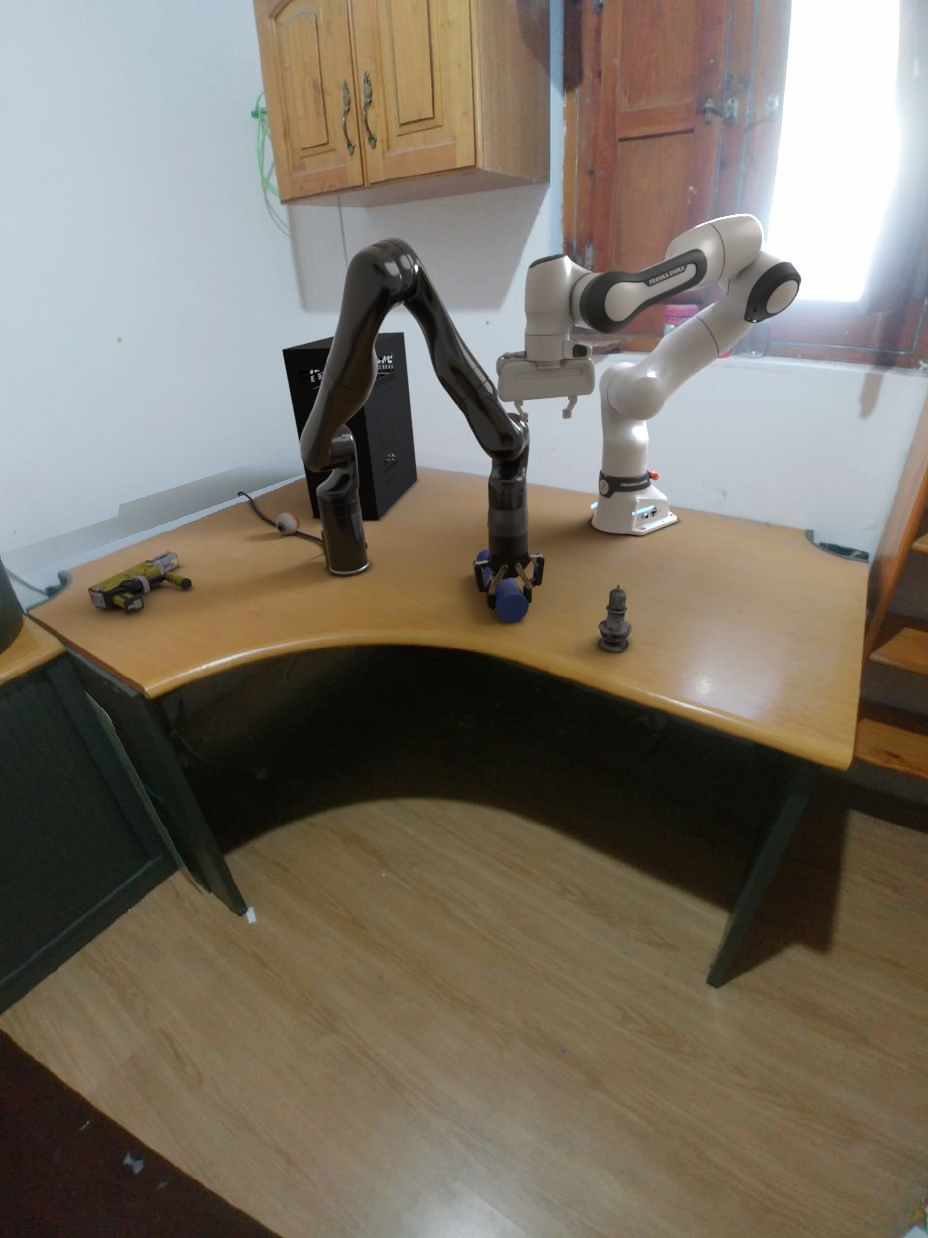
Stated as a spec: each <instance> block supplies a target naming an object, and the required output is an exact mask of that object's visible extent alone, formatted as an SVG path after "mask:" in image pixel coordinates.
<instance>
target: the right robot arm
mask: <svg viewBox="0 0 928 1238" xmlns="http://www.w3.org/2000/svg"><path fill="white" fill-rule="evenodd" d="M764 239H765V238H764V230H763V226H762V224H761V222H760V221H759V219H757V217H755V216H754V215H752V214H748V213H742V214H734V215H728V216H724V217H719V218H716V219H713V220H710V221H708V222H704V223H701V224H699V225H696V226H695V227H692V228H690V229H688V230H686V231H684V232H683V233H681V234H680V235H678V236H676V237H675V238H674V239H672V240H671V241H670V243H669V244H668V246H667V249H666V251H665V254H664V260H663V261H660V262H657V263H655V264H653V265H651V266H648V267H646V268H644V269H641V270H639V271H637V272H627V271H621V270H613V271H606V272H593V271H592V270H588V269H586V268H584V267H583V266H580V265H579V264H577V263H576V262H574V261H572V259H570V258H569V256H568V255H567V254H565V253H556V254H553V255H547V256H544V257H540V258H538V259H535V260H534V261H532V262H531V263H530V264H529V266H528V268H527V271H526V276H525V284H524V285H525V286H524V306H523V307H524V315H525V319H526V321H525V322H526V324H525V329H524V350H519V351H514V352H509V351H507V352H504V353H502V354H501V355H500V356H499V357H498V358H497V359H496V361H495V370H496V374H497V386H496V389H497V397H498V400H499V401H502V402H503V403H509V402H510V403H512V402H513V406H514V407H515V409H516V411H517V412H518V415H520V416H521V417H522V418H523V419H524V420H525V421H526V423H529V413H527V412H526V411H525V412H524V410H523V409H522V407H523V406H524V401H532V400H534V401H535V400H545V399H556V398H566V397H567V400H568V401H569V402H568V404H567V406H566V408H562V410H561V411H562V414H561V415H562V418H563V419H564V420H568V419H572V416H573V415H572V412H573V409H574V408H575V406H576V405H577V403H578V396H579V397H581V396H589V395H592V394H593V392H594V391H595V389H596V371H595V370H596V369H595V364H594V361H593V359H592V358H590V357H592V355H593V347H592V346H591V345H589V344H586V343H582V342H580V341H578V340H576V339H570V328H571V327H572V326H575V327H578V328H579V327H580V328H584V329H587V330H594V331H597V332H599V333H603V334H613V333H617V332H620V331H621V330H623V329H624V328H626V327H627V326H628V325H629V324H630V323H632V321H633V320H634V319H635V318H637V316H639V315H640V314H641V313H642V312H643V311H645V310H646V309H648V308H650V307H652V306H655V305H656V304H659V303H661V302H664V301H665V300H668V299H670V298H672V297H674V296H677V295H679V294H681V293H687V292H693V291H698V290H700V289H704V288H707V287H709V286H711V285H715V284H718V285H719V287H720V288H721V289H722V290H723V291H724V292H722V294H721V295H720V297H719V298H718V299H717V301H715V302H713V303H711V304H710V305H708V306H706V307H705V308H703V309H701V310H699V311H698V312H696V313H695V314H694V315H693V316H691V317H690V318H688V319H687V320H685V322H683V323H681V324H680V325H679V326H678V327H676V328H675V329H673V330H672V331H670V332H669V333H668V334H666V335H665V336H663V337H662V338H661V339H660V341H658V344H657V345H656V347H654V349H652V351H651V352H650V353H649V354H648V355H647V356H646V357H645V358H644V359H643V360H642V361H640V362H639V363H636V364H634V363H632V362H627V361H626V362H618V363H615V364H613V365H610V366H609V367H607V368H606V369H605V370H604V371H603V373H602V375H601V376H600V378H599V383H598V390H599V397H600V416H601V428H602V430H601V431H602V453H601V468H600V470H599V474H598V492H599V493H598V498H597V501H596V502H594V503H592V504H591V505H590V509H594V508H595V511H594V514H593V517H592V520H591V525H592V526H593V527H594V528H595V529H597V530H599V531H601V532H605V533H611V534H623V535H625V534H626V535H632V536H633V535H634V536H645V535H646V534H650V533H652V532H654V531H657V530H660V529H662V528H665V527H668V526H670V525H672V524H675V523H677V522H678V516H677V515H676V514H675V513H674V512H672V511H670V503H669V502H670V501H669V498H668V497H667V496H666V495H665V494H664V492H661V491H660V490H659V489H658V488H656V487H655V486H654V485H652V483H651V480H653V481H658V479H659V478H660V473H659V472H657V471H654V470H651V471H649V470H648V469H647V466H648V458H649V457H648V455H649V446H650V437H649V433H648V426H647V421H648V420H650V419H653V418H654V417H656V416H657V415H658V414H659V413H660V412H661V411H662V409H663V407H664V405H665V403H666V401H667V400H668V399H670V398H671V396H672V395H674V393H675V392H676V391H677V390H678V389H680V387H681V386H683V384H684V383H686V382H687V381H688V380H689V379H691V378H692V377H693V376H695V375H697V373H699V372H700V371H702V370H703V369H705V368H706V367H708V366H709V365H710V364H712V363H713V362H714V361H716V360H717V359H719V358H720V357H722V356H723V355H725V354H726V353H727V352H729V350H731V349H732V348H733V347H734V346H736V344H738V343H739V342H740V341H741V340H742V339H743V338H744V337H745V336H747V334H749V332H750V331H751V329H752V328H753V326H754V324H758V323H761V322H764V321H766V320H769V319H771V318H773V317H776V316H777V315H778V314H781V313H782V312H783V311H785V310H786V309H787V308H788V307H789V306H790V305H792V303H793V302H794V300H795V299H796V298H797V296H798V294H799V291H800V287H801V285H802V276H801V274H800V272H799V270H798V269H797V267H796V266H795V264H794V263H793V262H792V261H789V260H788V259H787V258H786V257H785V256H784V254H782V253H781V252H780V251H779V250H778V249H776V248H775V247H774V246H773V245H769V244H768V243H766V242H765V241H764Z"/></svg>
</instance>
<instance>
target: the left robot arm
mask: <svg viewBox="0 0 928 1238" xmlns="http://www.w3.org/2000/svg"><path fill="white" fill-rule="evenodd" d="M345 273H346V274H345V278H344V283H343V291H342V296H341V297H342V298H341V304H340V309H339V310H340V311H339V316H338V321H337V325H336V329H335V332H334V335H333V336H334V338H333V343H332V346H331V350H330V353H329V356H328V358H327V362H326V365H325V369H324V372H322V373H323V376H321V377H322V381H321V385H320V386H319V387H320V388H319V392H318V395H317V398H316V401H315V404H314V407H313V409H312V412H311V414H310V416H309V418H308V421H307V423H306V425H305V427H304V430H303V432H302V435H301V439H300V443H299V454H300V458H301V462H302V464H303V463H304V465H305V466H306V467H307V468H308V469H309V470H311V471H313V472H325V471H329V470H333V471H332V473H331V475H330V476H329V478H328V479H327V480H325V481H324V482H323V483H322V484H320V485H319V486H318V488H317V490H316V494H317V500H318V505H319V510H320V516H321V518H320V521H321V526H322V530H321V531H320V536H321V538H320V537H317V536H315V535H311V534H308V533H304V532H302V531H299V530H297V531H296V532H294V533H293V534H297V535H300V536H302V537H306V538H309V539H311V540H316V541H317V542H319V543H321V544H322V548H323V552H324V557H325V558H324V559H325V563H326V568H327V569H329V572H330V573H331V574H333V575H335V576H341V577H343V576H345V577H346V576H353V575H357V574H361V573H363V572H365V571H366V570H368V569H369V567H370V560H369V558H368V549H369V547H368V543H367V541H366V535H365V529H364V521H363V519H362V514H361V507H360V500H359V493H358V488H359V475H358V464H357V453H356V446H355V441H354V437H353V435H352V433H351V431H350V429H349V428H348V427H347V426H346V425H345V423H346V422H347V421H348V420H349V419H350V418H352V417H353V416H354V415H355V414H356V413H357V412H358V411H359V410H360V409H361V408H362V407H363V405H364V404H365V403H366V401H367V399H368V398H369V396H370V393H371V390H372V388H373V385H374V383H375V380H376V377H377V373H378V363H379V359H378V360H377V355H376V351H375V347H374V345H375V340H376V337H377V335H378V333H380V330H381V327H382V325H383V323H384V321H385V319H386V317H387V316H388V315H389V314H390V313H391V312H392V311H393V310H394V309H396V308H398V307H399V306H401V305H402V306H404V307H405V309H406V310H407V311H408V313H410V314H411V315H412V317H413V319H414V320H415V321H416V323H417V324H418V326H419V328H420V330H421V333H422V334H423V337H424V340H425V344H426V347H427V350H428V354H429V357H430V358H429V359H430V361H431V365H432V369H433V371H434V374H435V376H436V378H437V380H438V382H439V383H440V385H441V386H442V388H443V389H444V391H445V392H446V393H447V395H448V397H450V399H451V400H452V401H453V403H454V404H455V405H456V406H457V408H458V409H459V410H460V412H461V413H462V415H463V416H464V418H465V419H466V422H467V425H468V426H469V428H470V430H471V432H472V434H473V435H474V438H475V440H477V443H478V444H479V446H480V447H481V449H482V450H483V452H484V453H485V454H486V455H487V456H488V457H489V458H490V459H491V470H490V471H491V472H490V473H489V477H488V481H487V500H488V501H487V502H488V503H487V504H488V507H487V508H488V510H487V521H486V522H487V523H486V527H487V539H488V541H487V542H488V543H487V544H488V548H489V555H488V558H487V560H485V561H481V562H478V561H477V560H476V559H475V560H473V561H472V568H473V574H474V579H475V584H476V588H477V590H478V592H479V593H480V594H483V593H485V595H486V597H485V598H486V605H487V607H488V609H490V610H491V611H493V612H494V611H496V609H495V593H494V592H495V590H496V588H497V586H498V585H499V584H500V582H501V580H504V579H508V578H515V579H518V578H519V577H520V579H521V581H522V583H523V585H522V593H523V594H524V596H525V598H526V600H527V602H528V605H529V606H530V604H531V603H532V601H533V588H535V587H540V586H541V585H542V584H543V577H544V571H545V565H546V559H545V557H544V556H543V555H542V553H541V552H537V553H536V554H530V553H529V523H530V522H529V509H528V482H527V481H528V479H527V478H528V477H527V473H528V465H529V456H530V444H531V443H530V442H531V434H530V427H529V425H528V422H526V421H525V420H524V419H523V418H522V417H521V416H520V415H519V413H516V412H507V411H506V409H505V408H504V407H503V406H504V405H502V403H501V402H500V399H499V398H498V396H497V386H495V384H494V382H493V380H492V379H491V378H490V376H489V375H488V374H487V372H486V371H485V369H484V368H483V367H482V365H481V364H480V362H479V361H478V360H477V358H476V357H475V356H474V354H473V353H472V351H471V350H470V348H469V347H468V345H467V344H466V342H465V341H464V339H463V338H462V336H461V334H460V332H459V331H458V330H457V327H456V326H455V323H454V321H453V319H452V318H451V316H450V314H449V312H448V310H447V308H446V306H445V304H444V302H443V300H442V299H441V297H440V295H439V293H438V291H437V289H436V288H435V285H434V284H433V281H432V280H431V277H430V275H429V274H428V272H427V270H426V268H425V266H424V264H423V262H422V261H421V259H420V257H419V256H418V254H417V252H416V251H415V250H414V249H413V247H412V246H411V245H410V244H409V243H408V242H406V241H405V240H404V239H402V238H401V237H400V238H399V237H395V236H391V237H388V238H387V237H386V238H383V239H381V240H379V241H377V242H375V243H372V244H370V245H368V246H365V247H363V248H361V249H360V250H358V251H357V252H356V253H355V254H354V255H353V256H352V258H351V259H350V261H349V263H348V265H347V269H346V272H345ZM304 465H303V466H304ZM240 495H243V496H245V497H246V498H247V499H248V500H249V502H250V505H251V506H252V508H253V510H254V511H255V512H256V514H257V515H258V516H259V517H261V518H262V519H263V520H265V521H266V522H268V523H270V524H271V525H274V526H276V521H273V520H271V519H270V518H268V517H266V516H265V515H264V514H262V512H260V511H259V510H258V508H257V507H256V505H255V504H254V501H253V498H252V497H251V496H250V495H249V494H247V493H246V492H245V491H238V492H237V496H240ZM530 563H531V564H532V566H533V571H532V577H531V578H529V577H528V575H527V573H526V572H525V570H526V569H527V567H528V566H529V565H530ZM487 566H488V567H489V568H490V569H491V570H492V572H491V574H490V577H489V580H488V582H487V584H484V581H483V576H482V573H484V572H485V568H486V567H487Z"/></svg>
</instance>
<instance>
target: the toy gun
mask: <svg viewBox="0 0 928 1238" xmlns="http://www.w3.org/2000/svg"><path fill="white" fill-rule="evenodd" d="M175 559H176V561H177V563H176V562H173V560H175ZM178 567H180V561H179V554H177V553H176V552H174V551H173V552H171V550H170V551H169V550H167V551H165V552H164V553H161V554H159V555H157V556H155V557H152V558H151V559H146V560H145V561H142V562H139V563H138V564H136V565H133V566H132V567H130V568H127V569H125V570H123V571H120V572H118V573H116V574H115V575H113V576H111V577H108V578H107V579H104V580H102V581H100V582H97V583H96V584H93V585H91V586H89V587H88V588H87V591H88V594H89V599H90V602H91V605H93V606H94V607H95V609H99V610H102V609H104V608H105V609H112V608H116V607H121V608H123V609H124V610H125V614H126V615H131V614H134V613H136V612H138V611H140V610H143V609H145V608H146V607H145V602H144V598H143V596H144V595H146V594H148V593H150V590H151V588H153V587H156V586H158V585H160V584H163V583H164V581H166V582H168V583H170V584H173V585H176V586H178V587H181V588H182V589H184V590H188V589H190V588H191V587H193V583H192V582H193V581H192V579H190V578H189V577H184V576H182V575H180V574H178V573H174V572H173V571H172V570H173V569H176V568H178Z"/></svg>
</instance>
